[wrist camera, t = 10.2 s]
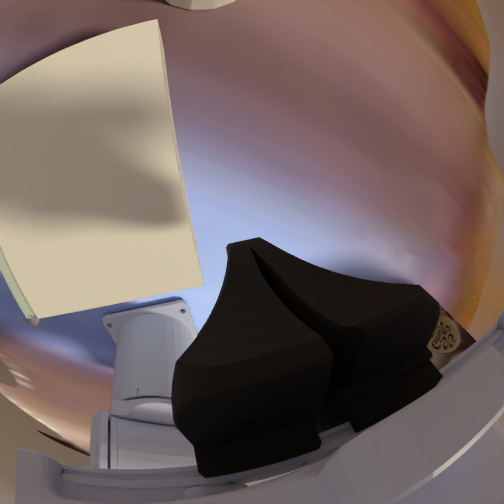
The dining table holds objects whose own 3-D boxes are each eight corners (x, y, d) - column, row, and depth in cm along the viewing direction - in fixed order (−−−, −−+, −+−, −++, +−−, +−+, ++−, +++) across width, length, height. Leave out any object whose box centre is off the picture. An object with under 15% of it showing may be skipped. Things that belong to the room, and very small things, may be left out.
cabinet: (195, 238, 20) (203, 285, 15) (63, 270, 18) (38, 318, 13) (163, 49, 13) (157, 19, 8) (16, 104, 11) (-33, 109, 6)
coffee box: (422, 285, 31) (500, 363, 17) (408, 320, 34) (473, 396, 21) (373, 301, 29) (457, 403, 15) (361, 339, 32) (427, 433, 19)
